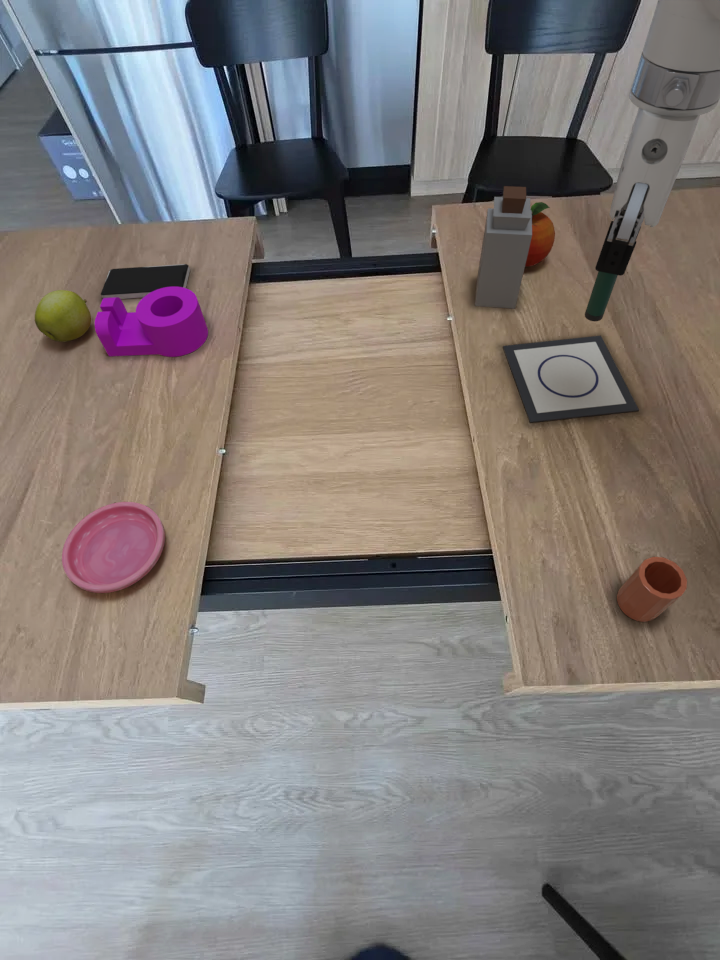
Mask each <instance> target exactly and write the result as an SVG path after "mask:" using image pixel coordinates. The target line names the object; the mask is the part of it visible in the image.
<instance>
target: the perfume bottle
mask: <svg viewBox="0 0 720 960" xmlns="http://www.w3.org/2000/svg"><path fill="white" fill-rule="evenodd" d="M493 197H494V198H493V199H494V200H493V208H492V207H488V208H487V210H486V211H487V212H486V218H485V225H484V232H483V237H482V244H481V251H480V258H479V264H478V270H477V278H476V285H475V286H476V287H475V298H474V299H475V301H474V306H475V307H484V308H502V309H515V310H516V307H517V304H518V303H517V302H518V299H519V294H520V289H521V286H522V281H523V276H524V272H525V268H526V267H525V264H526V260H527V255H528V251H529V247H530V242H531V238H532V210H530V209H531V198H530V197H527V187H526V186H513V185H511V186H510V185H504V186H503V191H502V196H493Z"/></svg>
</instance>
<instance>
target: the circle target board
mask: <svg viewBox="0 0 720 960" xmlns="http://www.w3.org/2000/svg"><path fill="white" fill-rule="evenodd" d="M502 348H503V352H504V354H505V358H506V360H507V363H508V366H509V369H510V371H511V374H512V377H513V380H514V383H515V386H516V388H517V391H518V394H519V397H520V399H521V403H522V405H523V407H524V410H525V413H526V416H527V418H528V421H529V423H530V424H535V423H545V422H551V421H553V422H554V421H561V420H570V419H578V418H579V419H580V418H588V417H598V416H607V415H616V414H625V413H632V412H634V413H635V412H639V411H640V409H639V407H638V405H637V403H636V400H635V399H634V397H633V395H632V393H631V392H630V389H629V387H628V385H627V384H626V381H625V380H624V377H623V375H622V374H621V372H620V370H619V367H618V366H617V364H616V362H615V361H614V358H613V356H612V355H611V352H610V350H609V348H608V346H607V345H606V343H605V341H604V339H603V337H602V335H592V336H583V337H582V336H581V337H574V338H573V337H572V338H565V339H564V338H563V339H553V340H545V341H535V342H527V343H526V342H525V343H517V344H507V345H503V346H502Z"/></svg>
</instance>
